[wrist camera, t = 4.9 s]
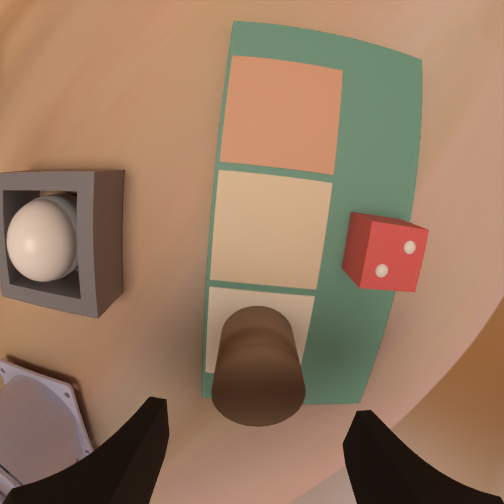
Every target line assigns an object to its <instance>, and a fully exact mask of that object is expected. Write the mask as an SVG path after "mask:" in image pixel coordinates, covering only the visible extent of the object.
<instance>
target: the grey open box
mask: <svg viewBox="0 0 504 504" xmlns="http://www.w3.org/2000/svg"><path fill="white" fill-rule="evenodd" d="M124 171H125V170H27V171H15V172H5V173H0V285H1V291H2V296H4V297H7V298H11V299H15V300H18V301H22V302H26V303H30V304H34V305H38V306H42V307H46V308H51V309H55V310H59V311H64V312H68V313H73V314H77V315H82V316H87V317H92V318H97V319H98V318H99V317H100V316H101V315H102V314H103V313H104V312H105V311H106V310H107V309H108V308H109V307H110V306H111V305H112V304H113V302H114V301H115V300H116V299H117V298H118V297H119V296H120V295H121V294H122V293H123V279H122V209H123V186H124ZM39 191H77V250H78V268H79V272H77V271H72V272H71V273H69V274H67V275H66V276H64V277H63V278H60V279H57V280H51V281H46V282H40V281H34V280H31V279H29V278H27V277H25V276H24V275H22V274H21V273H20V272H19V271H18V270H17V269H16V268H15V266H14V265H13V263H12V261H11V259H10V257H9V254H8V250H7V232H8V228H9V225H10V223H11V220H12V218H13V217H14V215H15V214H16V213H17V212H18V210H19V209H21V208H22V207H23V206H24V205H26V204H27V203H29V202H30V201H32V200H33V199H36V198H39Z"/></svg>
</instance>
